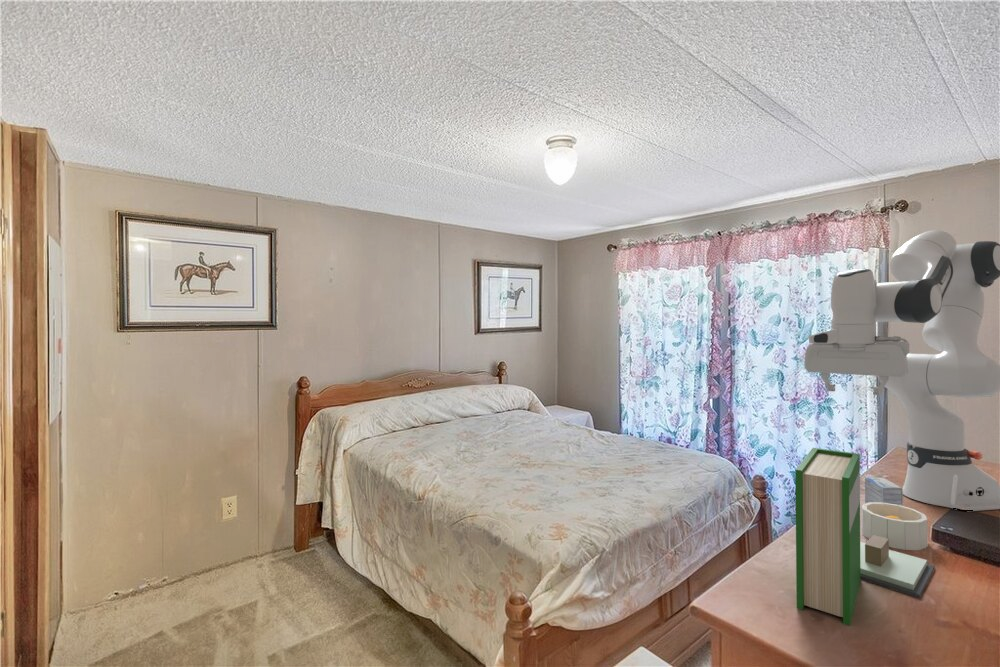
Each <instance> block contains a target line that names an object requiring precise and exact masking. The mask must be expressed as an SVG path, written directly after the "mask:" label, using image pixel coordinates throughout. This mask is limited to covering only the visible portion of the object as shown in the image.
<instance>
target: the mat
mask: <svg viewBox="0 0 1000 667" xmlns="http://www.w3.org/2000/svg"><path fill="white" fill-rule="evenodd" d="M935 569H936V565H934V564H931V563H928V562H927V566H926V568H925V570H924V572H923V573H922V575H921V577H920V579H919V581H918V583H917V584H916V586H915V588H914V590H911V589H908V588H905V587H902V586H898V585H895V584H892V583H889V582H886V581H883V580H880V579H877V578H873V577H870V576H867V575H864V574H861V573H860V576H861V580H862V581H866V582H870V583H872V584H875V585H878V586H881V587H885V588H888V589H890V590H893V591H897V592H900V593H903V594H906V595H908V596H911V597H915V598H918V599H920V598H921V596H922V594H923V592H924V591H925V588H926V587H927V585H928V582H929V581H930V578H931V576H932V575H933V573H934V571H935Z"/></svg>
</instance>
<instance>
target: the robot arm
mask: <svg viewBox="0 0 1000 667" xmlns="http://www.w3.org/2000/svg"><path fill="white" fill-rule="evenodd" d="M889 269H890V272H891V275H893V277H894V278H895V279H896V280H897V281H894V282H892V281H890V282H877V281H875V277H874V272H873V270H871V269H868V268H858V269H857V268H856V269H850V270H844V271H840V272H837V273H836V274H835V275H834V276H833V278H832V279H833V280H832V285H831V292H830V308H831V312H832V320H831V323H830V329H829V330H823V331H821V332H817V333H813V334H811V335H809V337H808V342H809V343H810V344H809V345H808V346H807V347H806V349H805V355H804V365H803V366H804V369H805V370H806V371H807V372H808V373H818V374H819V373H820V377H821V379H822V381H823V382H824V384H825V386H826V392H835V391H836V383H832V382H831V380H830V377H831V374H836V375H837V374H838V375H853V376H854V375H858V376H872V377H873V376H874V377H875V376H877V380H878V381H879V383H880V384H879V385H878V386H874V387H873V388H872V391H873V393H872V394H873V396H883V394H884V392H883V391H884V389H883V388H885V389H887V390H889V391H890V392H891V393H892V394H893V395H894V396H896V398H897V399H898V400H899V402H900V404H902V407H903V409H904V411H905V414H906V417H907V418H906V419H907V426H908V427H907V428H908V442H906V459H907V470H906V476H905V480H904V483H903V486H902V487H901V488H902V489H903V496H905V497H908V498H909V499H913V500H915V501H918V502H921V503H926V504H929V505H932V506H940V507H944V508H950V509H953V508H964V509H969V510H973V511H972V512H978V511H991V510H994V511H995V510H1000V483H999V481H998V480H997V479H996V478H994V477H993V476H991V475H990V474H989V473H987V472H985V471H984V470H982V469H981V468H980V467H978V466H977V465H975V464H974V463H973V461H972V459H974V460H978V461H979V460H982V459H983V453H981V452H980V451H975V450H970V451H969V449H967V448H965V423H964V421H963V419H962V418H961V417H960V415H959V414H958V413H956V412H954V411H952V410H950V409H948V408H946V407H944V406H943V405H942V404H940V402H939V400H938V399H937V397H936V396H943V397H944V396H945V397H953V398H965V399H970V398H971V399H974V398H976V399H977V398H991V397H993V396H995V395H996V394H998V393H999V392H1000V364H999V363H998V362H997V361H995V360H994V359H992V358H991V357H988V356H986V354H984V353H983V352H982V351H981V350H980V348H979V345H978V336H979V331H980V327H981V324H982V321H983V317H984V316H983V315H984V312H985V311H984V310H985V295H984V292H983V290H982V288H988V287H991V286H992V285H993V284H994V282H995V280H998V279H999V278H1000V243H999V242H997V241H993V240H989V241H988V240H984V241H981V240H980V241H979V240H978V241H976V242H972V243H971V242H970V243H964V244H962V243H960V244H957V241H956V239H955V238H954V236H952V235H951V234H950V233H948V232H947V231H944V230H940V229H939V230H938V229H937V230H935V229H934V230H927V231H924V232H923V233H922V232H921V233H919V234H918V235H916V236H914V237H912V238H911V239H909V240H907V241H906V242H905V243H904V244H902V246H900V247H899V248H898V249H896V251H895V252H894V253H893V254H892V256H891V257H890V261H889ZM897 322H898V323H899V322H900V323H902V322H903V323H917V324H918V323H919V324H924V326H923V329H922V331H921V337H922V340H923V342H924V343H925V344H926V345H927V346H928V347H930V348H931V349H933V350H935V351H937V352H939V353H910V343H909V341H908V340H906V339H905V338H902V337H901V336H886V335H885V336H884V335H883V336H881V335H879V336H878V335H877V323H897Z"/></svg>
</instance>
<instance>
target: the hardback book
mask: <svg viewBox="0 0 1000 667" xmlns="http://www.w3.org/2000/svg"><path fill="white" fill-rule="evenodd" d="M860 455H861V454H860V453H854V452H850V451H849V452H847V451H841V450H831V449H825V448H819V447H812V448H811V449H810V451H809V452H808V453H807V454H806V456H805V457H804V458H803V459H802V461H801V462H800V463H799V464H798V466H797V467H796V468H795V474H794V476H795V477H794V478H795V481H794V482H795V553H796V554H795V561H796V562H795V563H796V564H795V570H796V571H795V572H796V574H795V575H796V576H795V578H796V582H795V583H796V587H795V588H796V609H797V608H798V609H797V610H801V611H804V610H805V606H807V607H809V608H812V609H816V610H819V611H822V612H825V613H828V614H831V615H834V616H837V617H841V618H842V623H843V625H846V626H849V627H850V626H851V623H852V618H853V616H854V611H855V605H856V601H857V598H858V593H859V588H860V586H861V585H860V584H861V580H862V579H861V576H860V542H861V456H860Z"/></svg>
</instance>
